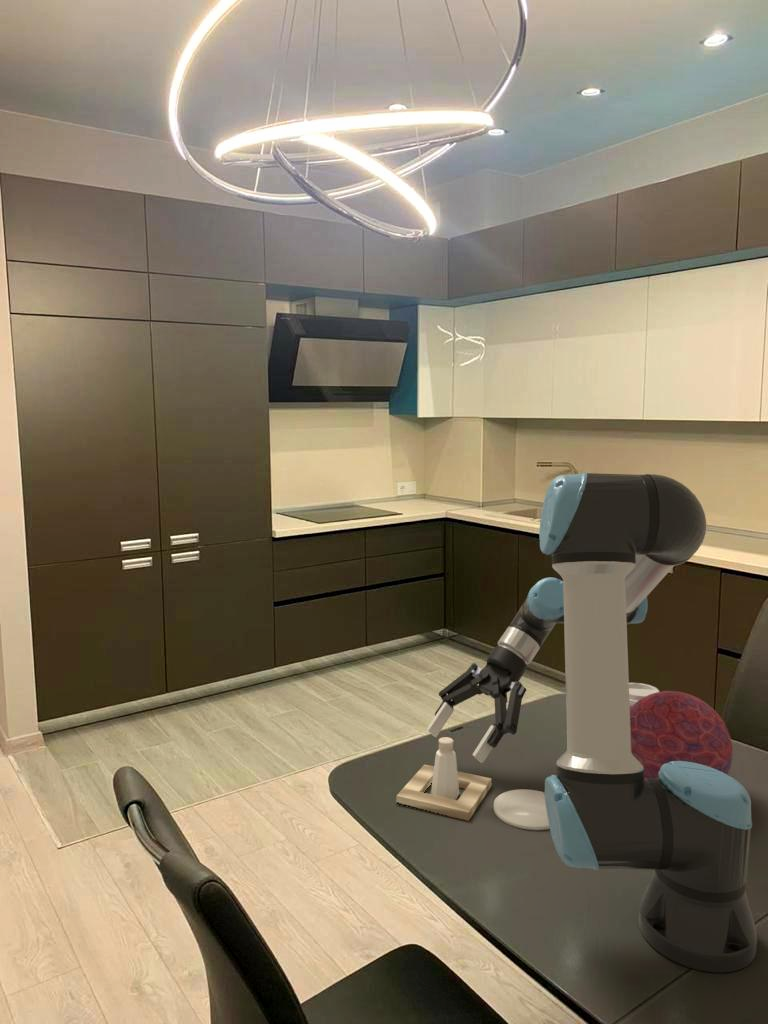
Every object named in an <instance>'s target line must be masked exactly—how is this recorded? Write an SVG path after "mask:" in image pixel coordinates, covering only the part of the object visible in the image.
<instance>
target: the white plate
mask: <svg viewBox="0 0 768 1024" xmlns="http://www.w3.org/2000/svg"><path fill="white" fill-rule="evenodd" d="M493 812H494V814H495V815H496V816H497V818H498V819H499V820H501V821H503V823H505V824H507V825H509V826H511V827H514V828H519V829H521V830H528V831H546V830H547V831H548V830H550V827H549V822H548V817H547V811H546V804H545V791H539V790H534V789H524V788H523V789H522V788H521V789H511V790H508V791H504V792H503V793H501V794H499V795H498V796H496V797H495V799H494V801H493Z"/></svg>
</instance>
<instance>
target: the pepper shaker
mask: <svg viewBox="0 0 768 1024" xmlns="http://www.w3.org/2000/svg"><path fill="white" fill-rule="evenodd" d="M434 756H435V757H434V765H433V766H434V772H433V780H432V784H431V791H430V794H432V795H436V796H441V797H445V798H450V799H454V800H458V797H459V795H460V788H459V785H458V773H457V771H458V764H457V762H458V761H457V755H456V752H455V751H454V739H452V738H451V737H446V736H445V737H444V736H443V737H440V738H439V739H438V750H437V751H436V753H435V755H434Z"/></svg>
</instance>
